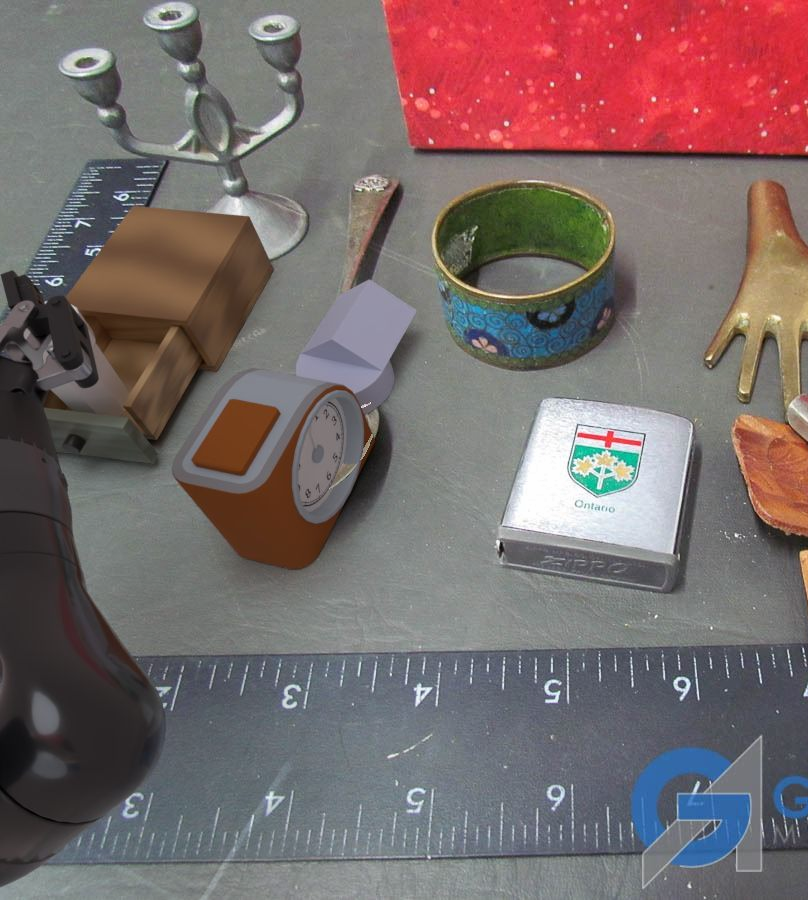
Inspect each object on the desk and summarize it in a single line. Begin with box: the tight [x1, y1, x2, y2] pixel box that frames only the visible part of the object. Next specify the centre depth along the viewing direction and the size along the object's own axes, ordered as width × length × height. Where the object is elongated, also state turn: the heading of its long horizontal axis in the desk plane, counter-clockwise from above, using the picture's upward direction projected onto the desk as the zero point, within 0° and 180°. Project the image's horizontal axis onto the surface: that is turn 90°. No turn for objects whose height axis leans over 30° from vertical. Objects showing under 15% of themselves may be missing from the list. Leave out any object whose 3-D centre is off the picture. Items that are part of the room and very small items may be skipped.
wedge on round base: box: [295, 279, 418, 415], centre depth 83 cm, size 9×7×13 cm
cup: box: [24, 300, 130, 417], centre depth 77 cm, size 7×7×11 cm
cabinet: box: [65, 205, 275, 372], centre depth 88 cm, size 16×14×8 cm
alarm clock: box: [171, 367, 376, 570], centre depth 71 cm, size 15×8×14 cm, turn 166°
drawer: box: [44, 315, 203, 464], centre depth 80 cm, size 16×12×6 cm
